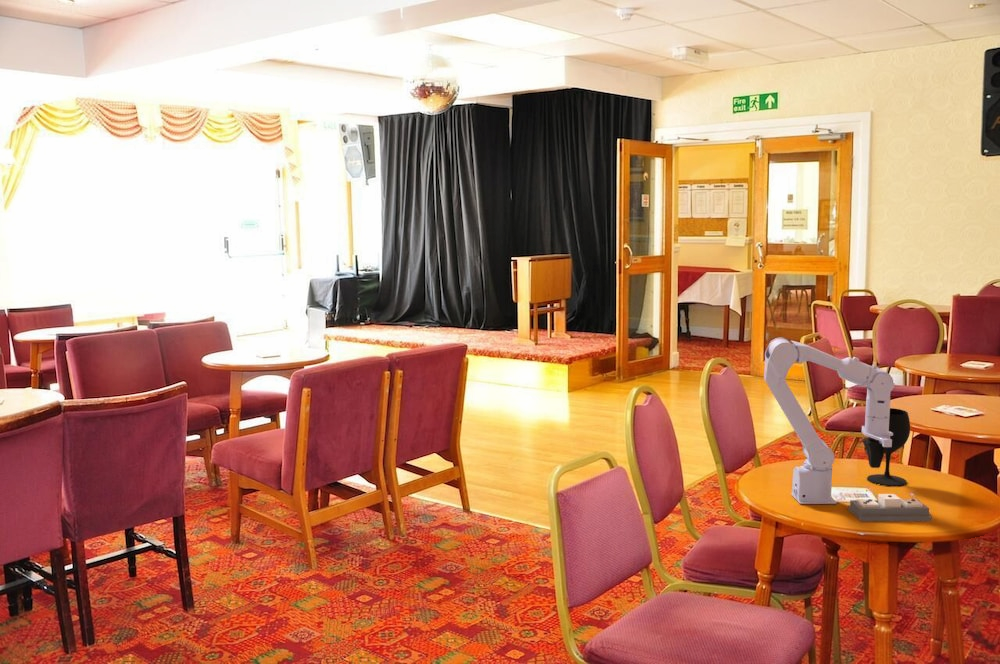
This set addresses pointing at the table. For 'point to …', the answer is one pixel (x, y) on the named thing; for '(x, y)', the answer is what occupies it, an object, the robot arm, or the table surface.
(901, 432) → the wine glass
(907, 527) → the table surface
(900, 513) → the tile board
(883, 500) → the tile one
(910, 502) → the tile two
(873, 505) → the tile three
